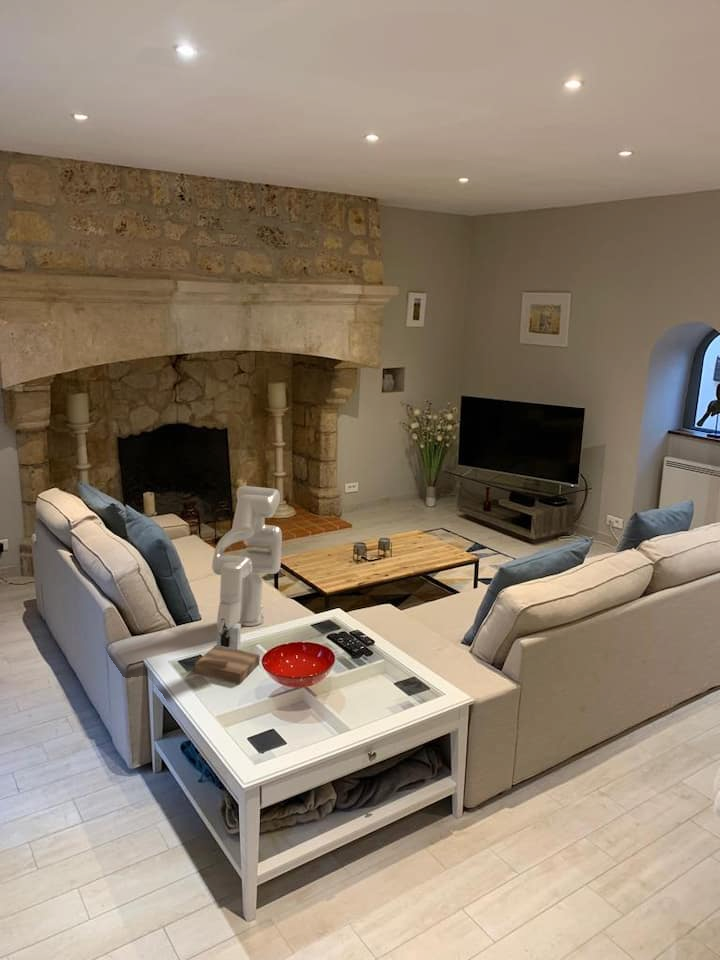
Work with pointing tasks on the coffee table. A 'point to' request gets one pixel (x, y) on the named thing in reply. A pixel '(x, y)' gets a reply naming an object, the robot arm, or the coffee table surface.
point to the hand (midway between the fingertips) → (228, 642)
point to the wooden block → (227, 664)
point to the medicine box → (231, 637)
